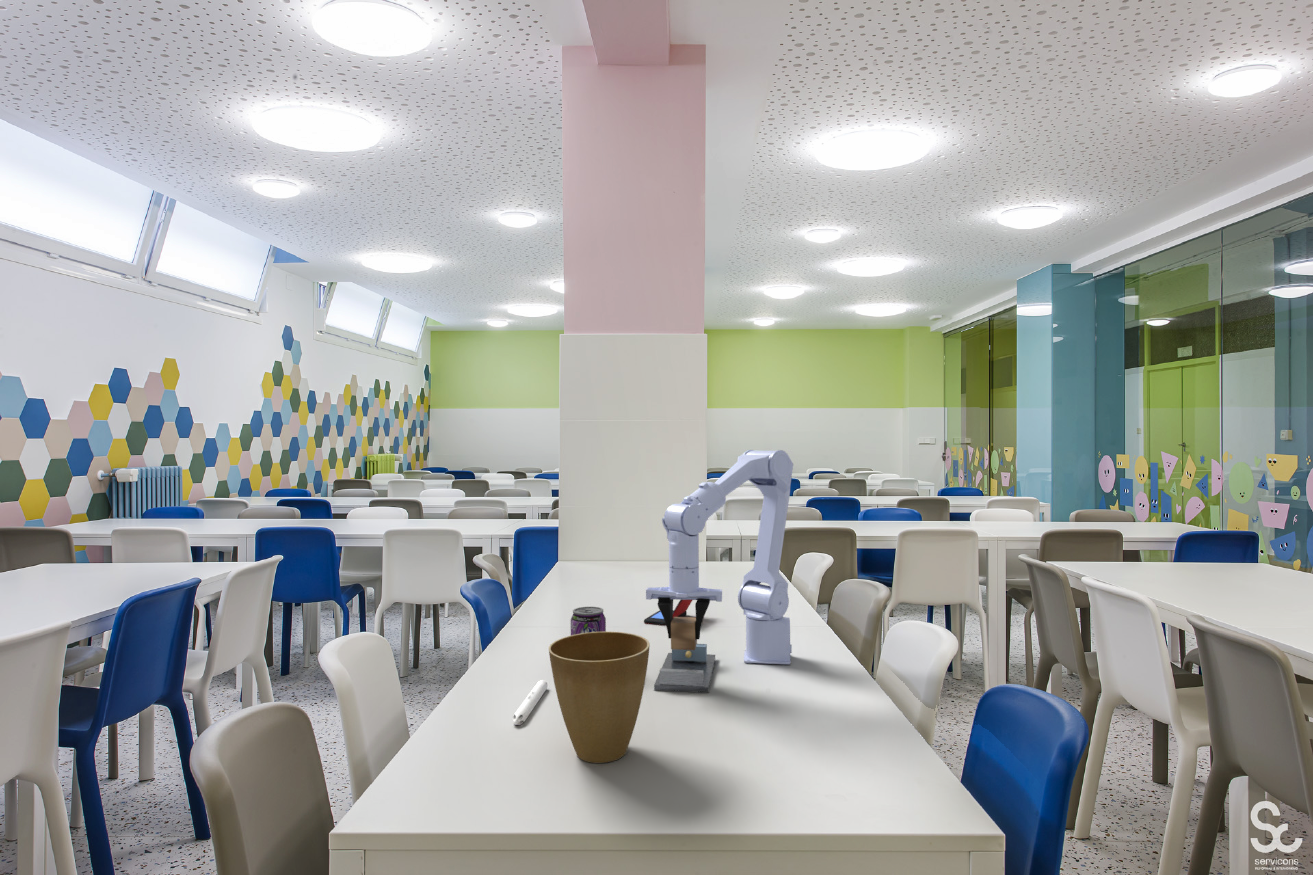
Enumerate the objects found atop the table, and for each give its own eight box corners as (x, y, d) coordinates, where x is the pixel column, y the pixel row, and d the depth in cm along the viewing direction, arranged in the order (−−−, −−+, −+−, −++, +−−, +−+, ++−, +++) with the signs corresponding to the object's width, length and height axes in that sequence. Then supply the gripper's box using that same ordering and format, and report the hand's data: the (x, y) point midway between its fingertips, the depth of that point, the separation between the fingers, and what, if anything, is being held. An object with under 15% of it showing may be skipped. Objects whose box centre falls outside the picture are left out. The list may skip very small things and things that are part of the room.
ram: (674, 652, 149) (674, 622, 149) (708, 653, 148) (707, 623, 148) (671, 661, 143) (671, 630, 143) (705, 663, 142) (705, 631, 142)
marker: (521, 730, 113) (521, 715, 113) (508, 729, 113) (508, 715, 113) (547, 690, 131) (547, 678, 131) (536, 690, 131) (536, 677, 131)
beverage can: (563, 671, 141) (563, 611, 141) (583, 662, 147) (583, 604, 147) (593, 677, 138) (593, 615, 138) (612, 666, 144) (612, 608, 144)
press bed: (668, 657, 150) (668, 640, 150) (715, 659, 148) (715, 642, 148) (654, 690, 130) (654, 671, 130) (708, 692, 129) (708, 673, 129)
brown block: (696, 643, 137) (696, 617, 137) (694, 650, 132) (694, 623, 132) (673, 642, 137) (673, 616, 137) (671, 649, 133) (670, 622, 133)
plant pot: (598, 724, 115) (598, 625, 115) (670, 749, 105) (670, 641, 105) (527, 755, 103) (527, 646, 103) (601, 787, 94) (600, 666, 94)
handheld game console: (661, 613, 190) (660, 585, 190) (698, 617, 186) (698, 588, 186) (642, 624, 178) (641, 595, 178) (681, 628, 174) (681, 598, 174)
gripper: (643, 569, 132) (643, 641, 132) (720, 571, 130) (720, 644, 130) (649, 562, 139) (649, 631, 139) (722, 564, 137) (723, 634, 137)
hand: (684, 637), depth 135 cm, fingers closed on brown block, 4 cm apart
